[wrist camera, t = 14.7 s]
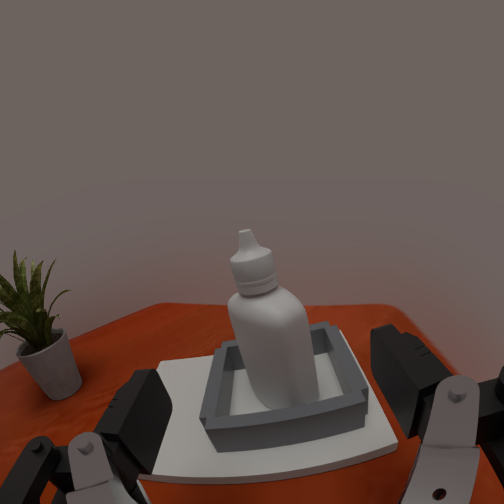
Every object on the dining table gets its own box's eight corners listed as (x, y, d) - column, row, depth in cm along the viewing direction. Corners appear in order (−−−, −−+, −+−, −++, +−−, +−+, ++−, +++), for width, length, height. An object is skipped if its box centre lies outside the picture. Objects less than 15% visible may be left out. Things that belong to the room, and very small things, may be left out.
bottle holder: (116, 475, 12) (89, 445, 12) (164, 368, 26) (152, 340, 25) (395, 450, 11) (403, 415, 10) (341, 338, 25) (338, 306, 24)
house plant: (20, 378, 25) (-27, 268, 21) (94, 345, 34) (55, 236, 30) (18, 435, 14) (-62, 280, 11) (121, 389, 23) (57, 230, 19)
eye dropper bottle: (302, 364, 21) (273, 217, 18) (325, 409, 15) (296, 227, 13) (250, 379, 21) (207, 233, 18) (260, 429, 15) (203, 250, 12)
